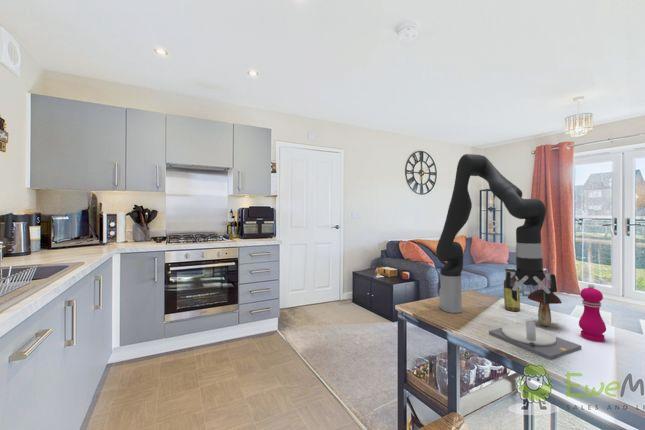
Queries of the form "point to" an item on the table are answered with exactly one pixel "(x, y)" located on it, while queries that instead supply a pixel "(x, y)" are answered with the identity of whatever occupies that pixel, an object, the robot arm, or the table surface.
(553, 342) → the cam dial
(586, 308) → the pepper mill
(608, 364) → the table surface
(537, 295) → the decorative mushroom
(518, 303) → the sauce bottle
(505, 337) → the dial base
